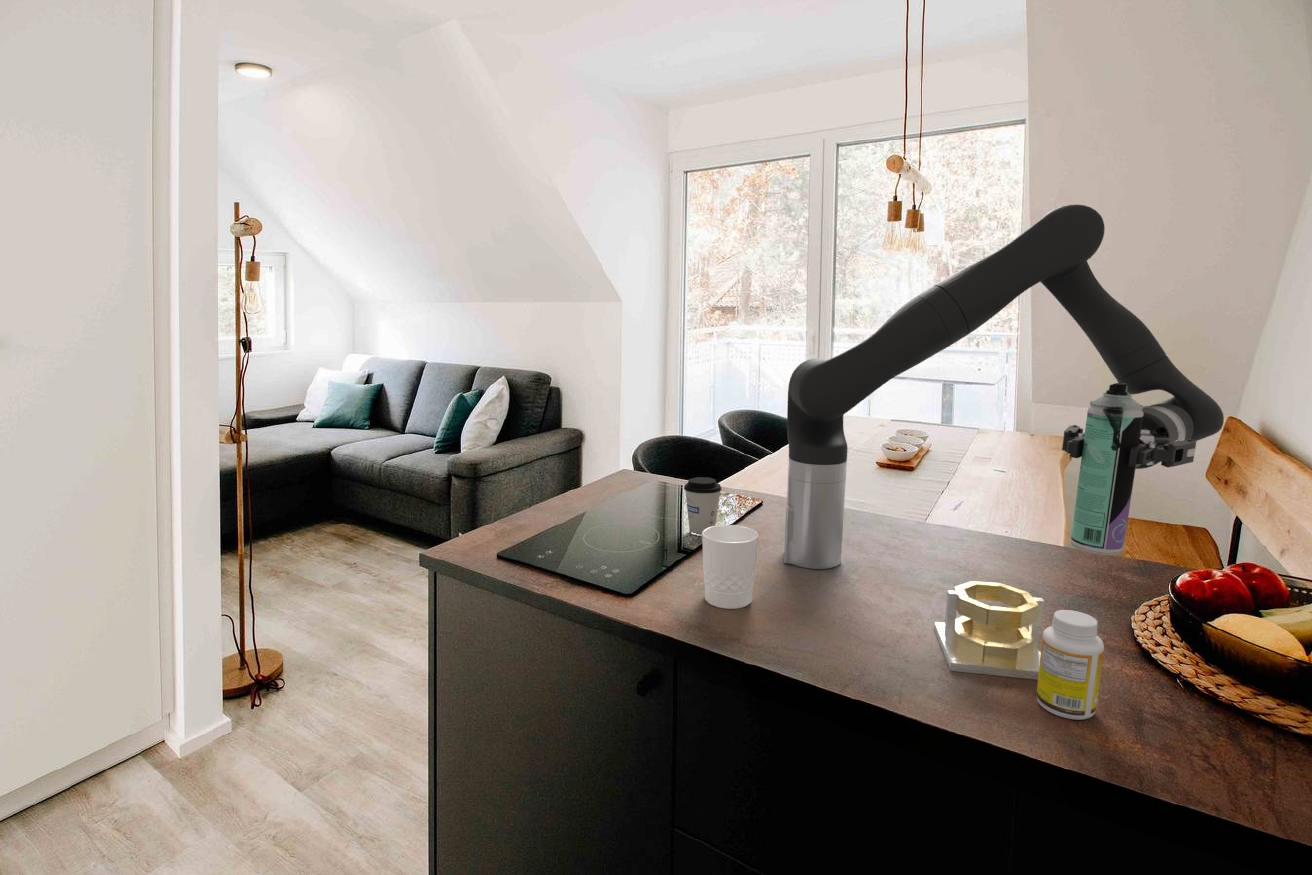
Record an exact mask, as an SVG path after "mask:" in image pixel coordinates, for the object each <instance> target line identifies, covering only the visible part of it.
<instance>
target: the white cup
mask: <svg viewBox="0 0 1312 875" xmlns="http://www.w3.org/2000/svg"><path fill="white" fill-rule="evenodd" d="M701 539H702V542H701V543H702V565H703V567H702V568H703V570H702V571H703V572H702V573H703V582H704V599H705V601H706V602H707V603H708V604H709V605H711V606H712V607H713V606H714V607H715V608H718V609H727V610H731V609H742V608H746V607H748V606H749V605H750V604H751V603H752V601H753V589H754V583H755V576H756V565H757V554H758V542H759V533H758V532H757V531H756V530H755V529H752V528H750V527H746V526H743V525H735V524H719V525H715V526H712V527H709V528H706V529H705V530H703V532H702V538H701Z"/></svg>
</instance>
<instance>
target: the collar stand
mask: <svg viewBox="0 0 1312 875" xmlns="http://www.w3.org/2000/svg"><path fill="white" fill-rule="evenodd" d="M946 594H947V596H946V606H945V618H944V622H939V621H934V626H933V627H934V628H933V630H934V633H935V634H936V638H937V639H938V642H939V645H940V648H941V651H942V652H943V655H944V658H945V661H946V663H947V666H948V667H949V668H948V669H949V671H951V672H960V673H969V674H979V675H989V676H999V677H1006V678H1007V677H1008V678H1018V679H1025V680H1026V679H1027V680H1028V679H1029V680H1036V681H1038V674H1039V665H1040V655H1041V650H1039V649H1040V644H1041V643H1040V642H1041V635H1042V626H1043V625H1042V624H1043V619H1044V618H1043V615H1044V610H1045V609H1044V607H1045V600H1044V598H1042V597H1033V596H1032V595H1031V592H1030V593H1029V592H1028V591H1025V590H1022V589H1018V588H1016V587H1013V586H1010V585H1007V584H1004V583H1002V582H1000V583H999V582H991V581H988V582H987V581H975V580H970V581H967V582H965V583H962V584H958V585H956V586H954V588H953V590H951V589H950V590H949V589H948V590H947V593H946ZM979 600H980V601H993V602H1000V603H1002V604H1005V605H1008V606H1010V607H1006V606H1005V607H1004V606H994V605H988V604H986V603H983V602H980V601H979ZM957 613H958V614H959V615H960V617H957ZM1026 626H1029V628H1028V629H1027V627H1026Z"/></svg>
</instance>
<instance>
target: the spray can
mask: <svg viewBox="0 0 1312 875" xmlns="http://www.w3.org/2000/svg"><path fill="white" fill-rule="evenodd" d="M1102 395H1103V396H1100V397H1099V398H1096V399H1095V400H1091V401H1089V407H1088V408H1087V413H1086V420H1085V428H1084V433H1085V435H1084V443H1083V450H1082V457H1080V458H1081V459H1080V466H1079V467H1080V468H1079V475H1078V481H1077V483H1078V484H1077V490H1076V498H1075V506H1074V510H1073V511H1074V512H1073V519H1072V528H1071V535H1070V545H1071V546H1072V547H1073V548H1075V549H1077V550H1079V551H1082V552H1085V553H1090V554H1094V555H1102V556H1119V555H1121V554H1123V552H1124V550H1125V549H1124V548H1125V541H1126V536H1127V529H1128V528H1127V527H1128V522H1129V513H1130V508H1131V500H1132V494H1133V487H1134V479H1135V475H1136V469H1135V467H1129V458H1130V451H1131V448H1132V447H1135V446H1137V445H1139V441H1140V434H1141V427H1142V420H1143V411H1142V409H1143V406H1144V405H1143V404H1141V403H1139V402H1137V401H1136V400H1135V399H1133V394H1129V392H1128V391H1127V384H1126V383H1118V382H1117V383H1116V382H1115V383H1112V384H1110V385H1109V387H1108V389H1107V390H1106V391H1105V392H1103V394H1102Z"/></svg>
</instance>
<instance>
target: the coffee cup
mask: <svg viewBox="0 0 1312 875" xmlns="http://www.w3.org/2000/svg"><path fill="white" fill-rule="evenodd" d="M683 489H684V490H685V491H684V492H685V498H686V499H685V501H686V508H687V509H686V510H687V519H688V527H689V528H688V529H689V533H690V532H693V533H696V534H702V532H703V530H705V529H706V528H709V527H712V526H717V525H716V524H717V518H718V511H719V510H718V509H719V504H720V497H721V491H722V486H721V484H720V483H717V480H716V479H715V478H712V477H706V476H703V477H702V476H698V477H693V478H689V479H688V481H687V483H685V484H684V486H683Z"/></svg>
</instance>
